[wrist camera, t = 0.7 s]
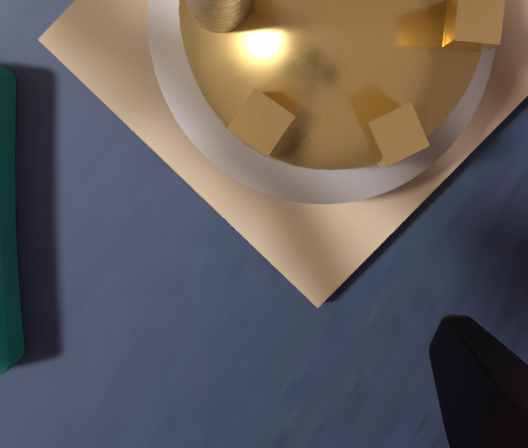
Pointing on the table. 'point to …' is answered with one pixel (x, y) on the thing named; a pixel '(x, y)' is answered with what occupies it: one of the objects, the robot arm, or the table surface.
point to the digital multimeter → (8, 230)
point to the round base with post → (336, 72)
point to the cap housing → (265, 169)
